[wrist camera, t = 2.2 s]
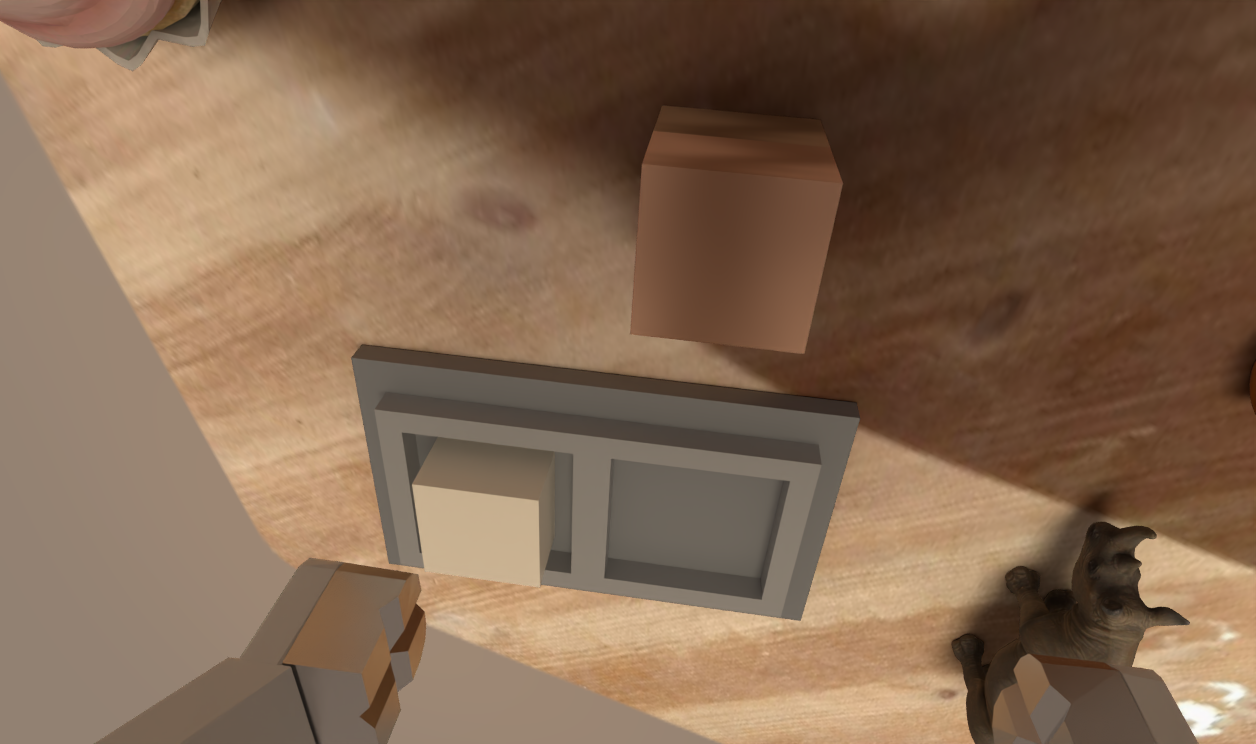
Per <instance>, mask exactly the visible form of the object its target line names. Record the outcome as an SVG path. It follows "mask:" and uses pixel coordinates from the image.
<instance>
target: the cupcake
mask: <svg viewBox="0 0 1256 744" xmlns="http://www.w3.org/2000/svg"><path fill="white" fill-rule="evenodd" d="M220 2H221V0H0V21H1V22H3V23H5V24H7V25H9V26H11V27H13V28H14V29H16V30H18V31H20V32H22V33H24V34H26V35H27V36H29V37H32V38H34V39H36V40H37V41H38V42H39V43H40V44H41V45H42V46H45V47H59V46H68V47H72V48H96V49H98V50H99V51H101V52H102V53H103V54H105V55H106V56H107V57H109V58H110V59H111V60H113V61H114V62H115V63H117V64H118V65H120V66H122V67H124V68H127V69H129V70H131V71H133V70H135V69H136V68H138V67H139V66H141V65H142V63H143V62H144V61H145V59H146V58H147V56H148V55H149V53H150V52H151V50H152V49H153V47H154V46H155V45H156V43H157V42H158V40H163V41H168V42H173V43H177V44H182V45H187V46H191V47H196V46H205V44H206V41H207V38H208V34H209V31H210V28H211V25H212V23H213V20H214V18H215V15H216V12H217V10H218V7H219V4H220Z"/></svg>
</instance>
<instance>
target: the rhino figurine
mask: <svg viewBox="0 0 1256 744" xmlns="http://www.w3.org/2000/svg"><path fill="white" fill-rule="evenodd" d="M1156 536H1157V535H1156V533H1155V532H1154V531H1153V530H1151V529H1150V528H1148V527H1144V526H1131V527H1125V528H1121V529H1120V528H1117V527H1115V526H1113V525H1111V524H1109V523H1107V522H1096V523H1093V524H1092V525H1091V526H1090V527H1089V529H1088V531H1087V533H1086V538H1085V542H1084V545H1083V548H1082V551H1081V554H1080V556H1079V559H1078V560H1077V562H1076V565H1075V567H1074V570H1073V575H1072V591H1063V590H1053V591H1051V592H1050V593H1049V594H1048V595H1047V596H1046V598H1045V602H1044V601H1043V599H1042V598H1041V597H1040V596H1039V594H1038V589H1039V584H1040V576H1039V574H1038V573H1037V572H1035V571H1030V570H1028V569H1027V568H1026V567H1023V566H1018V567H1016V568H1014V569H1013V570H1011V571H1010V572H1008V573H1007V574H1006V576H1005V578H1006V581H1007V587H1008V589H1009V590H1010V591H1011V592H1012V593H1013V594H1015V595H1016V597H1017V599H1018V603H1019V608H1020V620H1019V636H1020V638H1018V639H1016V640H1014V641H1013V642H1011V643H1010V644H1008V645H1007V646H1005V647H1003V648H1002V649H1000V650H999V651H998V652H997V653H996V654H995V656H994V657H993V659H992V661H991V664H989V665H985V666H984V667H982V664H981V659H982V655H983V652H984V643H983V641H982V640H980V639H977V638H975V637H974V636H973V635H970V634H967V635H964V636H962V637H961V638H960V639H958V640H955V641H953V643H952V648H953V651H954V654H955V656H956V658H957V659H958V660H959V661H960V662H961V664H962V667H963V674H964V680H965V684H966V687H967V689H968V693H967V698H966V710H967V720H968V726H969V730H970V733H971V736H972V738H973V740H974V742H975V744H994V736H993V729H992V722H993V711H994V705H995V703H996V701H997V699H998V697H999V695H1000V693H1001V691H1002V690H1003V689H1005V688H1007V687H1009V686H1012V685H1014V684H1016V683H1018V681H1017V679H1016V676H1015V673H1014V668H1015V666H1016V665H1017V663H1018V661H1019V660H1020V658H1021V657H1023V656H1025V655H1027V654H1037V655H1045V656H1054V657H1062V658H1071V659H1079V660H1088V661H1096V662H1104V663H1106V664H1112V665H1120V666H1128V667H1132V664H1133V661H1134V658H1135V654H1136V651H1137V648H1138V645H1139V642H1140V641H1141V640H1142V638H1143V635H1144V632H1145V630H1146V629H1147V628H1149V627H1153V626H1169V625H1189V624H1190V622H1189V621H1188V620H1187V619H1185V618H1183V617H1182V616H1181V615H1180V614H1178V613H1177V612H1175V611H1174V610H1172V609H1170V608H1167V607H1156V608H1148V607H1147V606H1146V605H1145V604H1144V603H1143V601H1142V600H1141V598H1140V596H1139V592H1138V582H1139V580H1140V578H1141V574H1140V570H1139V567H1140V566H1141V565H1142V563H1141V562H1140V561H1139V560H1137V559H1135V556H1134V552H1135V547H1136V546H1137V545H1138V544H1139V543H1140V542H1141V541H1142V540H1144V539H1146V538H1149V539H1155V538H1156ZM1076 602H1077V603H1076Z"/></svg>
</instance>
